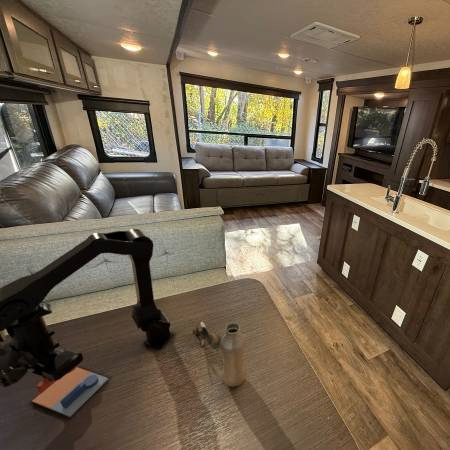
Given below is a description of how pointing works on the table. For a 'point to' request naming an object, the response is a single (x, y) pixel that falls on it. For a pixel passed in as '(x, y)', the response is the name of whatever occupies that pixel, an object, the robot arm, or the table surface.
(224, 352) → the plastic bottle
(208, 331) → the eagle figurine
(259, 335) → the table surface
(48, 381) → the terracotta spoon
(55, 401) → the mat
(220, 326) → the table surface
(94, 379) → the blue spoon
